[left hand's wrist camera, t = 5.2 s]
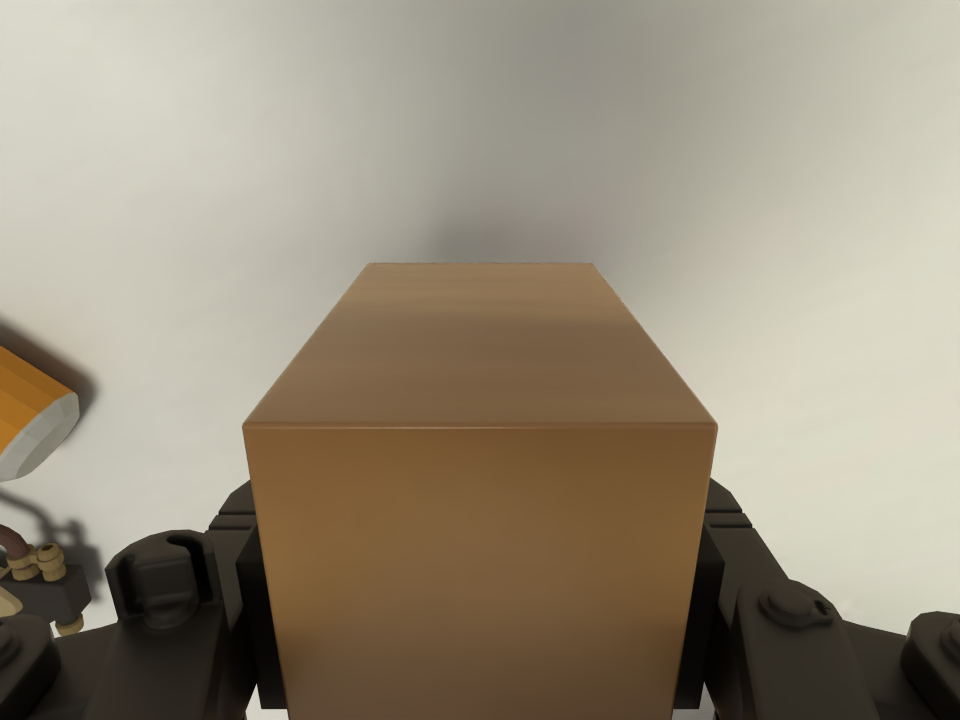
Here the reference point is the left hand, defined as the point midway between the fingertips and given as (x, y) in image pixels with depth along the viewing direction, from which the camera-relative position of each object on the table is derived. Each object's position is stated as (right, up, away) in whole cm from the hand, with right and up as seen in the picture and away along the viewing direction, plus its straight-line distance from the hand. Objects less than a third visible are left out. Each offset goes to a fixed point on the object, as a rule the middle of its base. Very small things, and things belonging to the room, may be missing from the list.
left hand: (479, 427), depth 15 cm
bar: (0, -8, +4) cm, 9 cm away
